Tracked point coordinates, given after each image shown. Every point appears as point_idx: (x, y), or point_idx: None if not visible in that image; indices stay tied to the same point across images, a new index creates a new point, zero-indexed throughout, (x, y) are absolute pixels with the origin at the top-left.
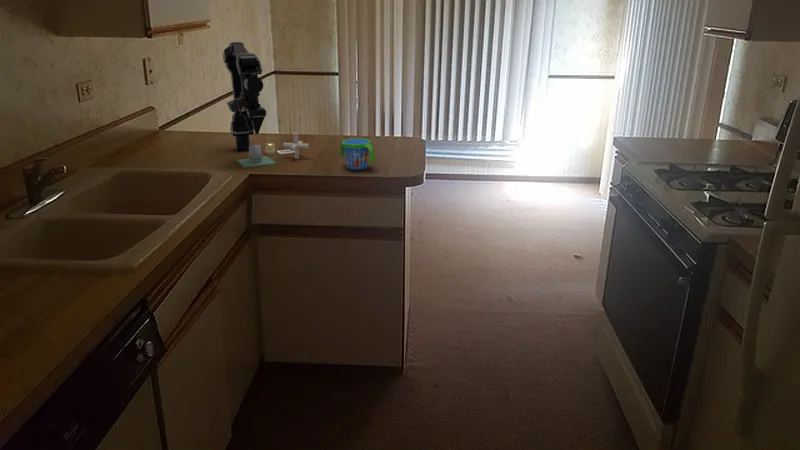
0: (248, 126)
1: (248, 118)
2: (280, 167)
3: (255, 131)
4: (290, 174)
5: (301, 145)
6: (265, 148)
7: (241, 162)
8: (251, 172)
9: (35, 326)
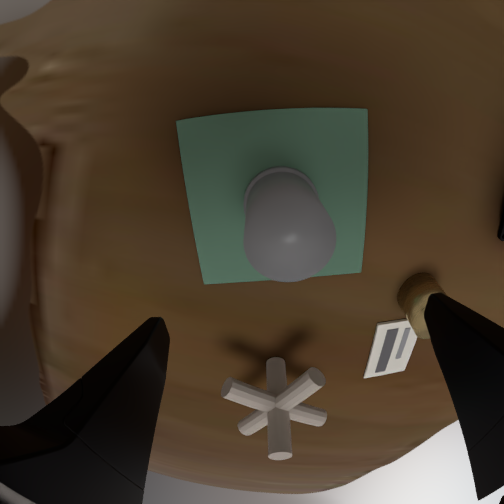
0: (448, 312)
1: (498, 389)
2: (139, 285)
3: (131, 338)
4: (47, 290)
5: (253, 418)
6: (428, 289)
7: (287, 118)
8: (82, 152)
9: None
